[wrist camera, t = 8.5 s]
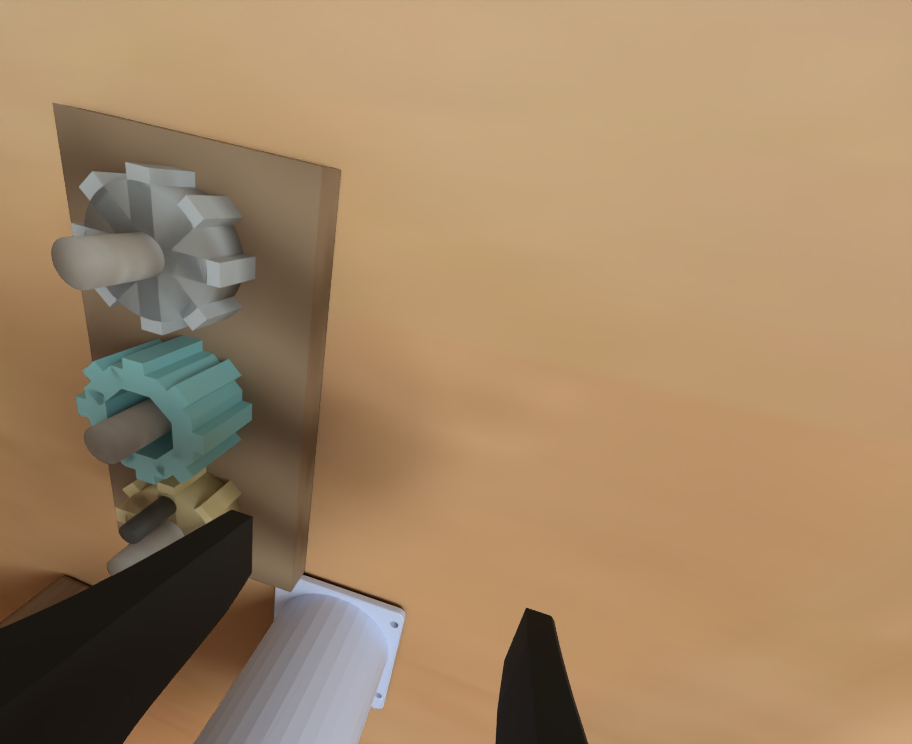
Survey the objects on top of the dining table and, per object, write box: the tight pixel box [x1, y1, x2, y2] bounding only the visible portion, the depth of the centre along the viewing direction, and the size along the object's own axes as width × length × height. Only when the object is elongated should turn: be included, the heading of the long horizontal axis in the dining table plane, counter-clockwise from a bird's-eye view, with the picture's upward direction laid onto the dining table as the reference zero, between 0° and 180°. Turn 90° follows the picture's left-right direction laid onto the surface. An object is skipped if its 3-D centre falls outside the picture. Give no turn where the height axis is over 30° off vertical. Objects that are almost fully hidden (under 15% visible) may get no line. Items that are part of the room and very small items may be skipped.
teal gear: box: [76, 335, 252, 485], centre depth 18 cm, size 6×6×3 cm
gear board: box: [51, 103, 341, 592], centre depth 18 cm, size 22×11×6 cm, turn 168°
